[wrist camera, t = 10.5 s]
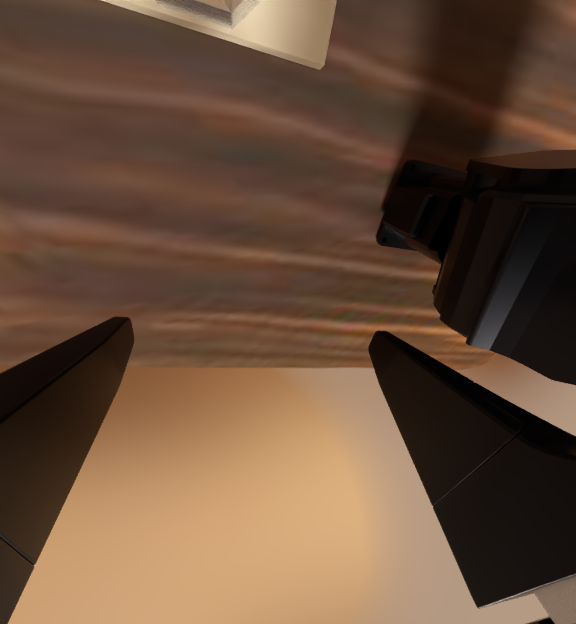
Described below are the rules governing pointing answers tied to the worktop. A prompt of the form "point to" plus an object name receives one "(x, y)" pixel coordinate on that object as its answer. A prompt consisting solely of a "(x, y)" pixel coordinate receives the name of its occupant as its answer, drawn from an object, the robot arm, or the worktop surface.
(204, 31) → the carrier plate
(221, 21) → the socket collar
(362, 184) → the worktop surface
